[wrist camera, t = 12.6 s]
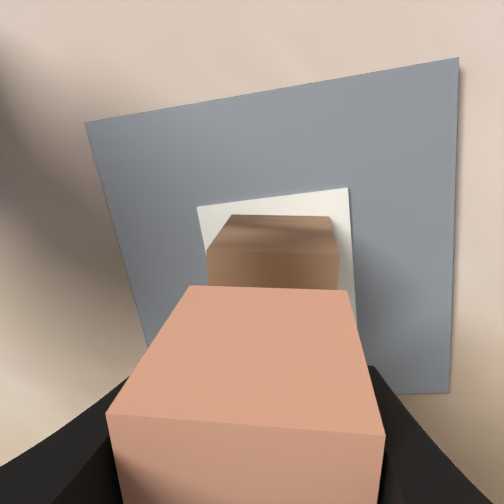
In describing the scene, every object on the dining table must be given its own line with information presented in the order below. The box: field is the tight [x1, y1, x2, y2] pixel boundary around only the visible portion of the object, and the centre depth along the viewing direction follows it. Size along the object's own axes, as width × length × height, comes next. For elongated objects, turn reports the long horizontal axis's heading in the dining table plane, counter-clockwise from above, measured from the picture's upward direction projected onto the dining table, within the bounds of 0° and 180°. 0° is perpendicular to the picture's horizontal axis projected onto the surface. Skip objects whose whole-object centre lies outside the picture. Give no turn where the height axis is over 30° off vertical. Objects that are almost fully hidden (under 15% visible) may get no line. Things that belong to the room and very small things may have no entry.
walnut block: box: [206, 214, 340, 290], centre depth 15 cm, size 4×4×5 cm
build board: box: [85, 57, 459, 394], centre depth 18 cm, size 16×16×1 cm
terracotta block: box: [105, 285, 386, 504], centre depth 9 cm, size 4×4×5 cm
